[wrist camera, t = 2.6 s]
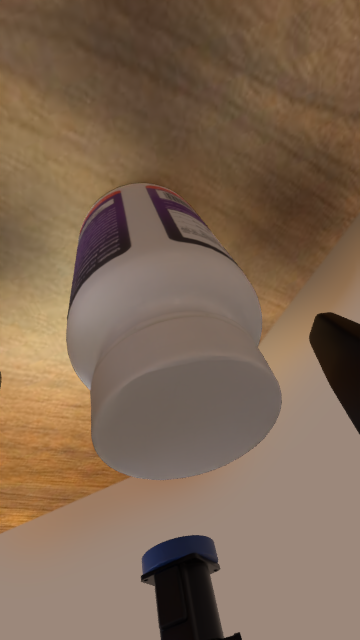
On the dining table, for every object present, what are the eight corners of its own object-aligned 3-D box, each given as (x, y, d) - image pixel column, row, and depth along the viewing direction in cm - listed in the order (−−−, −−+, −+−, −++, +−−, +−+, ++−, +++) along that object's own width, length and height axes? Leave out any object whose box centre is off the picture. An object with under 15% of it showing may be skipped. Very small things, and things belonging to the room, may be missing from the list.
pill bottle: (101, 307, 16) (99, 519, 8) (60, 195, 12) (-11, 370, 5) (207, 282, 16) (305, 461, 8) (194, 167, 13) (335, 286, 5)
